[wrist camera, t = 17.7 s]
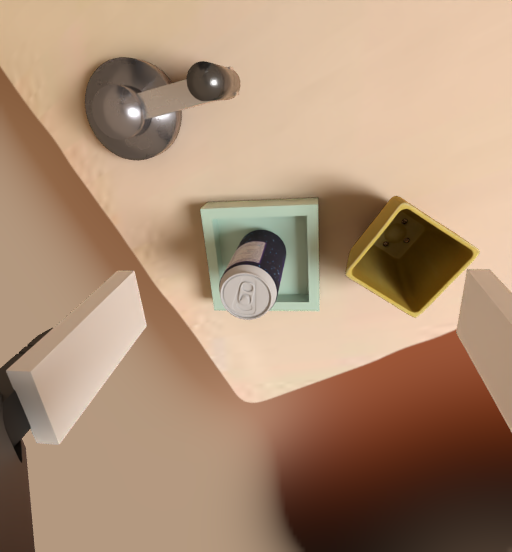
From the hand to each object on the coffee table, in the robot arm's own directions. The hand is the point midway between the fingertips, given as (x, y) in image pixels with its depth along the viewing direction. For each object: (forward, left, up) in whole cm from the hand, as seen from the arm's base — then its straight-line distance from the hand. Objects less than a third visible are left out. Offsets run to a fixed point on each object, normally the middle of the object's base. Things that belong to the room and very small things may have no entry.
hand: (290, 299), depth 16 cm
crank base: (-7, -19, -30) cm, 36 cm away
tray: (+10, -6, -30) cm, 32 cm away
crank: (-8, -14, -28) cm, 32 cm away
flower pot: (+8, +9, -31) cm, 33 cm away
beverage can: (+9, -6, -30) cm, 31 cm away
